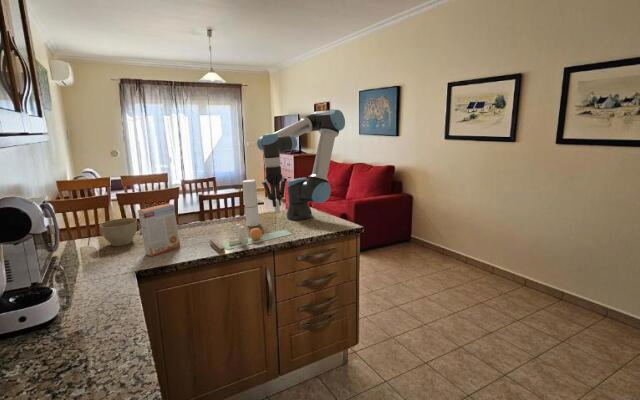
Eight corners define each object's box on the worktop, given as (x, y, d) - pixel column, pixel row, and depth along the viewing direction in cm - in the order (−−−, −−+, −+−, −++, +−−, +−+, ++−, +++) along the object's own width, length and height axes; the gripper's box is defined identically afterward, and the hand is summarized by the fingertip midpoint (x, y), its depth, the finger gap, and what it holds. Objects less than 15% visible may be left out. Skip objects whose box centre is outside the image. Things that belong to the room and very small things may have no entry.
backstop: (214, 243, 165) (214, 238, 164) (225, 252, 152) (224, 247, 151) (210, 244, 164) (209, 239, 163) (220, 254, 151) (220, 248, 150)
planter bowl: (98, 250, 162) (94, 228, 160) (109, 240, 177) (105, 220, 175) (136, 246, 166) (132, 224, 164) (143, 236, 181) (139, 216, 179)
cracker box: (174, 245, 165) (168, 202, 161) (180, 247, 162) (174, 204, 157) (144, 254, 155) (137, 209, 150) (151, 257, 151) (143, 211, 147)
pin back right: (241, 240, 168) (239, 223, 166) (243, 241, 166) (241, 224, 164) (236, 241, 166) (234, 224, 164) (238, 242, 164) (236, 225, 162)
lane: (284, 230, 181) (284, 229, 181) (292, 234, 173) (292, 233, 173) (220, 244, 163) (220, 244, 163) (227, 249, 156) (227, 249, 156)
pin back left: (245, 243, 163) (243, 225, 162) (247, 244, 161) (245, 227, 160) (240, 244, 162) (238, 226, 160) (242, 245, 160) (240, 228, 158)
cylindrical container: (260, 222, 197) (257, 179, 191) (257, 226, 190) (253, 181, 185) (248, 222, 198) (244, 179, 192) (244, 226, 191) (240, 182, 185)
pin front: (245, 236, 166) (228, 240, 161) (247, 238, 164) (230, 242, 159) (246, 241, 166) (229, 245, 162) (248, 242, 164) (230, 246, 160)
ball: (248, 239, 168) (259, 236, 171) (253, 243, 164) (264, 239, 167) (246, 228, 167) (258, 225, 170) (251, 231, 162) (263, 228, 165)
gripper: (281, 163, 173) (285, 208, 179) (257, 167, 166) (262, 213, 172) (288, 164, 167) (292, 211, 172) (263, 168, 160) (268, 216, 166)
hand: (277, 212), depth 172 cm, fingers closed
